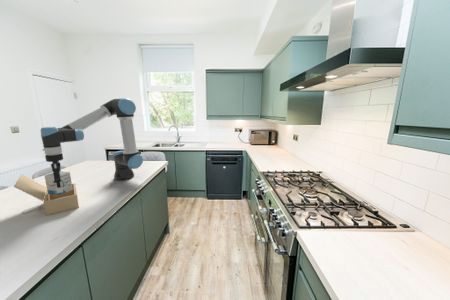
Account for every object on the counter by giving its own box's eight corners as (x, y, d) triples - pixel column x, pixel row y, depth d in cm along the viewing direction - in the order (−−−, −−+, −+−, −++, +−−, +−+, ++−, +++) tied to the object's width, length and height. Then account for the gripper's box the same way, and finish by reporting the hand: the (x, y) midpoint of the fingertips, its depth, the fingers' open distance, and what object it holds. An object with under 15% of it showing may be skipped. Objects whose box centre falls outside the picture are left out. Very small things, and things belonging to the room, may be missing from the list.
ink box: (59, 195, 110) (55, 176, 108) (47, 194, 112) (43, 175, 110) (73, 189, 118) (70, 171, 116) (62, 188, 120) (58, 170, 118)
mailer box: (77, 194, 130) (75, 183, 128) (78, 207, 113) (76, 194, 111) (49, 200, 121) (46, 188, 120) (46, 215, 104) (43, 202, 102)
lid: (22, 174, 111) (21, 175, 111) (14, 185, 95) (13, 186, 94) (46, 187, 119) (45, 188, 119) (43, 200, 102) (42, 201, 102)
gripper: (46, 151, 117) (53, 184, 122) (43, 158, 99) (50, 197, 103) (62, 149, 122) (68, 181, 126) (61, 156, 104) (68, 193, 108)
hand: (60, 189), depth 115 cm, fingers closed on ink box, 11 cm apart
